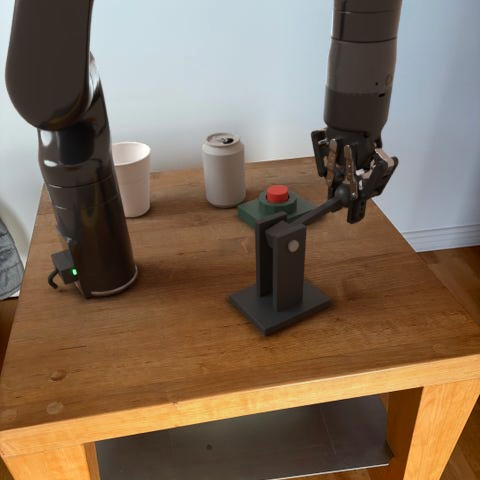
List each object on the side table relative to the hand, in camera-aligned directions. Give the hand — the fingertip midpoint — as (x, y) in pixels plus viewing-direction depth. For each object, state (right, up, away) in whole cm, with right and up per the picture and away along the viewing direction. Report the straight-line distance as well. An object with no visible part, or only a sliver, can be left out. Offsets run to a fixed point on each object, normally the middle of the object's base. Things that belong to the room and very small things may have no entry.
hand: (344, 215), depth 68 cm
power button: (-8, +7, +19) cm, 21 cm away
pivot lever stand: (-9, -12, +3) cm, 15 cm away
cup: (-34, +6, +25) cm, 43 cm away
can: (-17, +8, +27) cm, 33 cm away
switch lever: (-4, -2, -2) cm, 5 cm away
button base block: (-8, +4, +21) cm, 23 cm away
